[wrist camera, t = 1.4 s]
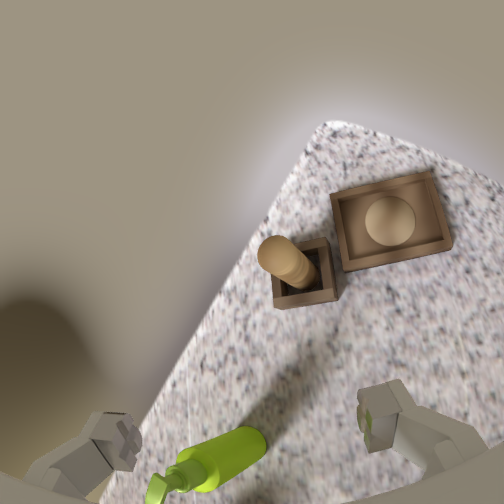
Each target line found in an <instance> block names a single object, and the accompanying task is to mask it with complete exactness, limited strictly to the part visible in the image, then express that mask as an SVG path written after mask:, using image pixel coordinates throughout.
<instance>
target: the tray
mask: <svg viewBox="0 0 504 504" xmlns="http://www.w3.org/2000/svg"><path fill="white" fill-rule="evenodd" d="M329 195H330V200H331V205H332V210H333V215H334V220H335V225H336V231H337V236H338V242H339V248H340V254H341V260H342V266H343V270H344V272H345V273H348V272H353V271H358V270H363V269H367V268H372V267H377V266H382V265H386V264H391V263H396V262H400V261H405V260H410V259H414V258H418V257H423V256H427V255H432V254H436V253H440V252H445V251H449V250H451V249H452V247H453V243H452V239H451V236H450V232H449V229H448V225H447V222H446V218H445V215H444V212H443V208H442V205H441V202H440V199H439V196H438V193H437V190H436V187H435V184H434V182H433V179H432V176H431V173H430V171H426V172H422V173H417V174H413V175H408V176H404V177H399V178H395V179H390V180H386V181H382V182H377V183H373V184H369V185H365V186H360V187H356V188H352V189H348V190H344V191H340V192H336V193H332V194H329Z"/></svg>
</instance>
